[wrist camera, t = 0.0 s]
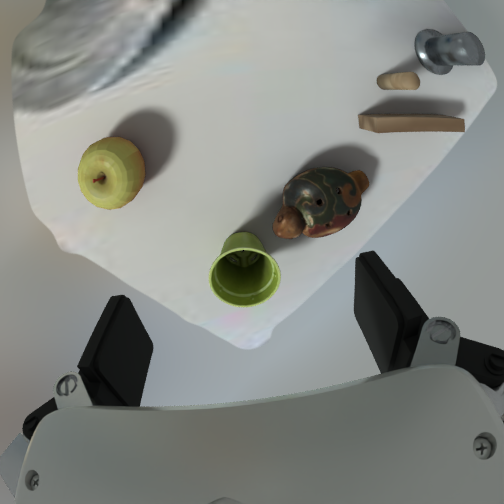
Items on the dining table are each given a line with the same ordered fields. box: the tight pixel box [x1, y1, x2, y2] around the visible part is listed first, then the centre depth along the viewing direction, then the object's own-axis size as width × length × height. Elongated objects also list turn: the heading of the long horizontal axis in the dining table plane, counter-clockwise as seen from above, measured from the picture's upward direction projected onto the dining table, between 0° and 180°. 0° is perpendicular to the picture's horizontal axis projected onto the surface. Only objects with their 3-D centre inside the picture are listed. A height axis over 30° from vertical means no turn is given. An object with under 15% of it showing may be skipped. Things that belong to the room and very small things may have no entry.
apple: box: [78, 137, 145, 210], centre depth 34 cm, size 10×10×8 cm
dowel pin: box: [377, 72, 420, 90], centre depth 30 cm, size 2×2×8 cm
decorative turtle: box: [273, 167, 369, 239], centre depth 38 cm, size 10×15×8 cm, turn 123°
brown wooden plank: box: [358, 114, 465, 133], centre depth 33 cm, size 2×16×6 cm, turn 100°
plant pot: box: [209, 232, 281, 307], centre depth 42 cm, size 9×9×9 cm
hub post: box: [415, 29, 485, 75], centre depth 26 cm, size 8×8×10 cm
